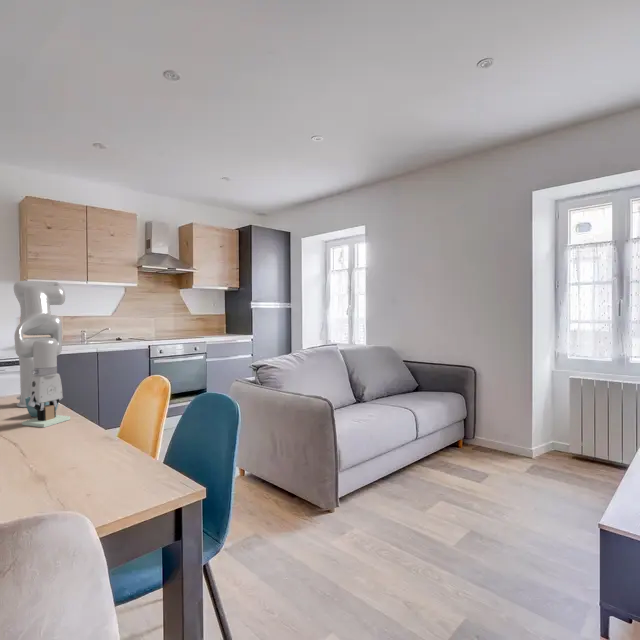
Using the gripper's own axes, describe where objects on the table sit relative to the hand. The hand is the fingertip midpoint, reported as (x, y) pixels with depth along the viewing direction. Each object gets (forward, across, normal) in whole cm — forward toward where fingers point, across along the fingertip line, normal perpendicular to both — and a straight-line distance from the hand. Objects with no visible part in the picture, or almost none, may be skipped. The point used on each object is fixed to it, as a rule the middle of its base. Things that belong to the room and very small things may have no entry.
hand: (46, 418), depth 156 cm
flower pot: (+3, +8, +12) cm, 15 cm away
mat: (+3, 0, 0) cm, 3 cm away
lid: (+1, 0, 0) cm, 1 cm away
